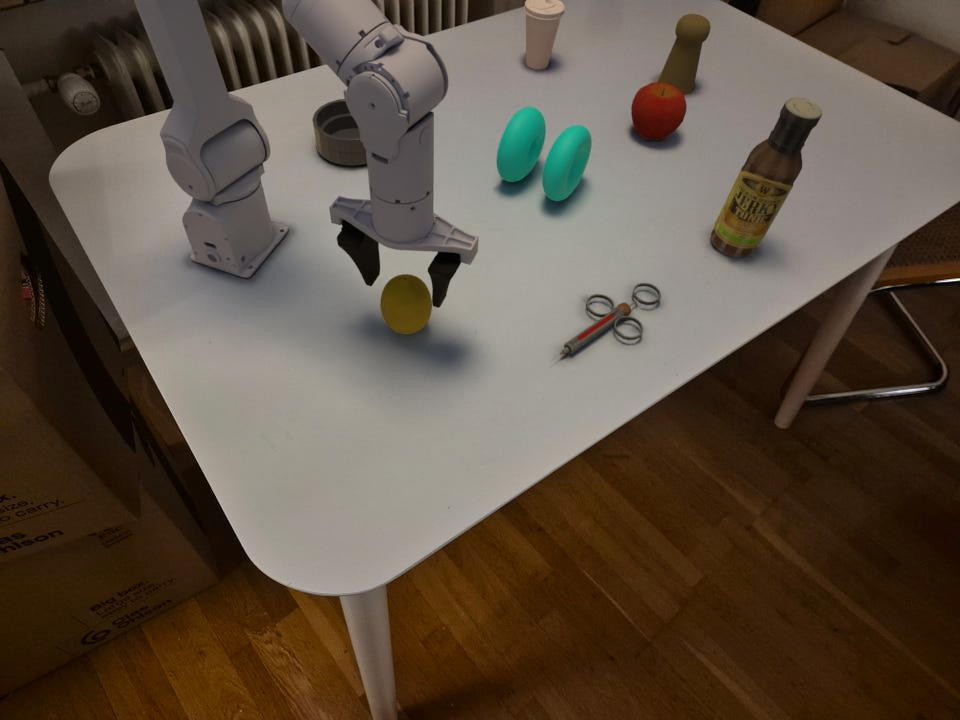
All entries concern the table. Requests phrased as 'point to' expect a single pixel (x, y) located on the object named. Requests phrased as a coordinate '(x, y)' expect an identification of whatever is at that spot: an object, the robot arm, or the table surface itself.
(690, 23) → the pawn
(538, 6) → the smoothie
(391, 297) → the lemon
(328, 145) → the bowl
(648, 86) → the apple
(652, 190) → the table surface
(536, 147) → the donuts
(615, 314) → the syringe
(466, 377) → the table surface
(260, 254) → the robot arm
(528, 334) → the table surface
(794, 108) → the sauce bottle
